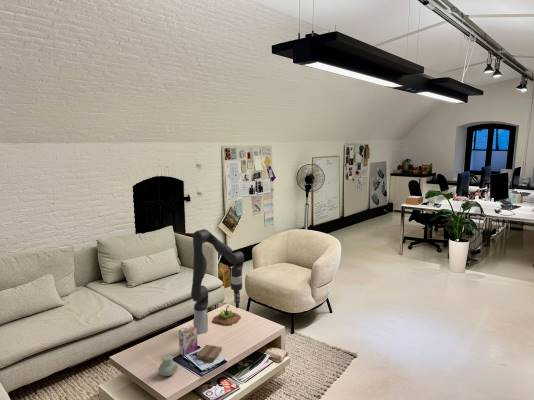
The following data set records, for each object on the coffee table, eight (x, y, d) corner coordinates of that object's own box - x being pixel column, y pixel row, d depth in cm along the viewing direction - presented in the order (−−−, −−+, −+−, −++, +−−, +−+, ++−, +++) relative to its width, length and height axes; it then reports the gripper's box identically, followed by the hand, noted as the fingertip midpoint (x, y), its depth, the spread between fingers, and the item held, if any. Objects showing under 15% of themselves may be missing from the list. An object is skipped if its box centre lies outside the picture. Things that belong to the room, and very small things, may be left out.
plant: (245, 318, 292) (244, 304, 291) (230, 328, 275) (230, 314, 274) (224, 312, 302) (223, 299, 301) (208, 322, 285) (208, 308, 284)
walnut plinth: (197, 359, 235) (196, 355, 235) (206, 348, 248) (206, 344, 247) (213, 362, 232) (212, 357, 232) (221, 351, 244) (221, 347, 244)
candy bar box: (183, 356, 239) (182, 332, 237) (179, 353, 242) (178, 329, 240) (198, 349, 247) (197, 326, 244) (193, 347, 250) (193, 323, 248)
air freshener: (168, 379, 215) (167, 363, 214) (156, 376, 219) (155, 360, 217) (179, 369, 225) (179, 353, 224) (168, 366, 229) (167, 351, 227)
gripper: (229, 278, 254) (229, 301, 256) (232, 286, 240) (232, 310, 242) (240, 277, 255) (240, 300, 258) (243, 285, 241) (243, 309, 244)
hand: (236, 305), depth 250 cm, fingers open, 8 cm apart
